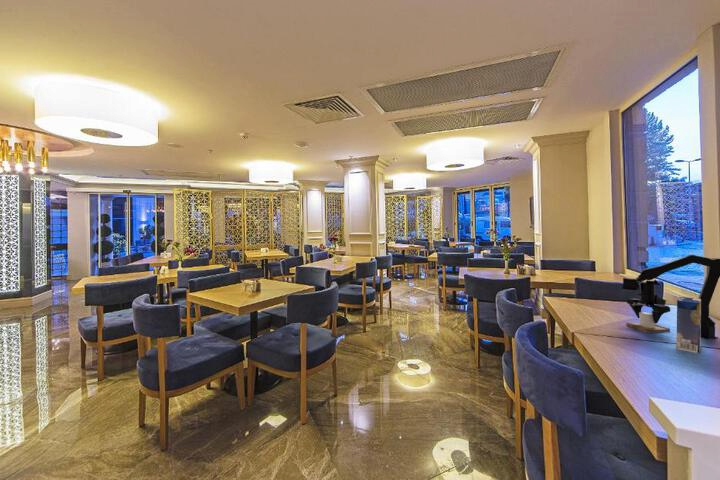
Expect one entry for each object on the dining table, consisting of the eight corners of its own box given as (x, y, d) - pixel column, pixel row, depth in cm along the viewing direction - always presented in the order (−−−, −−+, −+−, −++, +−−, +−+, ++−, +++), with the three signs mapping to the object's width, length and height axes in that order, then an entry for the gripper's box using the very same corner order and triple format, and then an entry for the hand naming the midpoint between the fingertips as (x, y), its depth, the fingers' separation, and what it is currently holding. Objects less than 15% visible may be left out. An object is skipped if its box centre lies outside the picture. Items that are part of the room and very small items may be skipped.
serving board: (669, 331, 157) (669, 328, 157) (647, 332, 157) (647, 329, 157) (647, 324, 169) (647, 321, 169) (626, 325, 169) (626, 322, 169)
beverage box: (700, 346, 138) (701, 298, 137) (699, 353, 131) (700, 303, 130) (678, 342, 143) (679, 296, 142) (676, 348, 136) (677, 300, 135)
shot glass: (660, 328, 159) (660, 315, 159) (644, 328, 160) (645, 315, 160) (650, 324, 166) (650, 311, 166) (635, 324, 167) (635, 311, 167)
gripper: (680, 295, 153) (680, 325, 154) (645, 288, 172) (644, 315, 173) (659, 296, 153) (659, 326, 154) (626, 288, 172) (625, 315, 172)
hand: (647, 320), depth 163 cm, fingers open, 9 cm apart
